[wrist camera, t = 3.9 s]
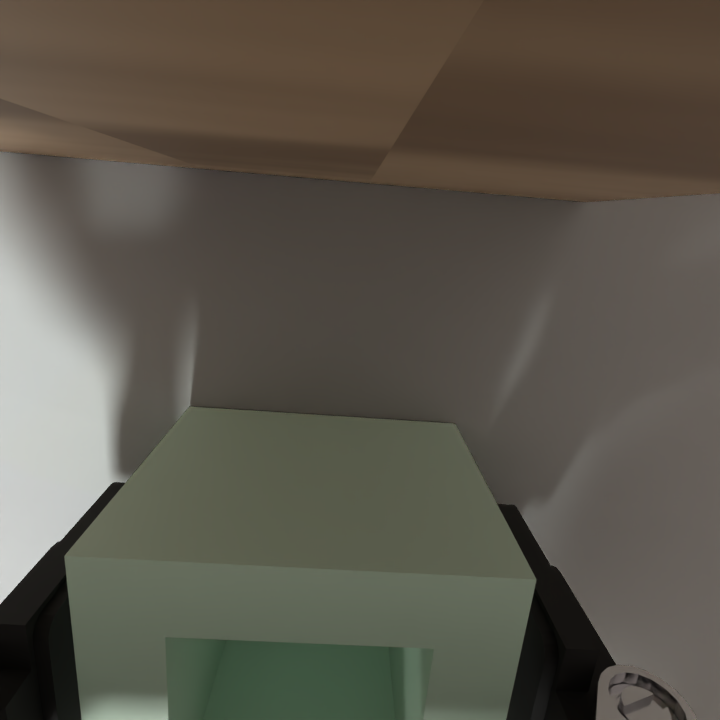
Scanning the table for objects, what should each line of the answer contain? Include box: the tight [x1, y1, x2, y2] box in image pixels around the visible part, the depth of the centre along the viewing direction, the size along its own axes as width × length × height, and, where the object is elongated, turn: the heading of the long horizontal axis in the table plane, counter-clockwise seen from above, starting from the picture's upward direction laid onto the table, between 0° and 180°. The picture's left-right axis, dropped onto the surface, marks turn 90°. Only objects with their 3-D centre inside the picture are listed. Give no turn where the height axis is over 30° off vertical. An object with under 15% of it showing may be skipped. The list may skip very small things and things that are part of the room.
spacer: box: [64, 407, 537, 720], centre depth 9 cm, size 6×6×5 cm
